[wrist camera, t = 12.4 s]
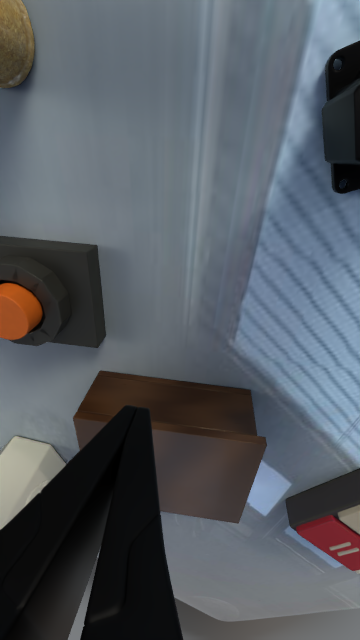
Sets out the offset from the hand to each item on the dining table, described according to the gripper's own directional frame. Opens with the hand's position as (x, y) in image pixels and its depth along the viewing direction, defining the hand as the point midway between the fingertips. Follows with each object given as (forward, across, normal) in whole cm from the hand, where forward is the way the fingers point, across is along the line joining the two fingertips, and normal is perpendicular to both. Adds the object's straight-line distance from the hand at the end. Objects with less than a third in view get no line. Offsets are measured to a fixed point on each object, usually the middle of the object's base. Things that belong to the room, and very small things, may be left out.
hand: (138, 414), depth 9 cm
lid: (+8, 0, +17) cm, 18 cm away
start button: (+10, +11, +2) cm, 15 cm away
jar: (+13, +17, +27) cm, 35 cm away
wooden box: (+13, 0, +17) cm, 21 cm away
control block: (+13, +11, +2) cm, 17 cm away
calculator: (+13, -24, +27) cm, 38 cm away
